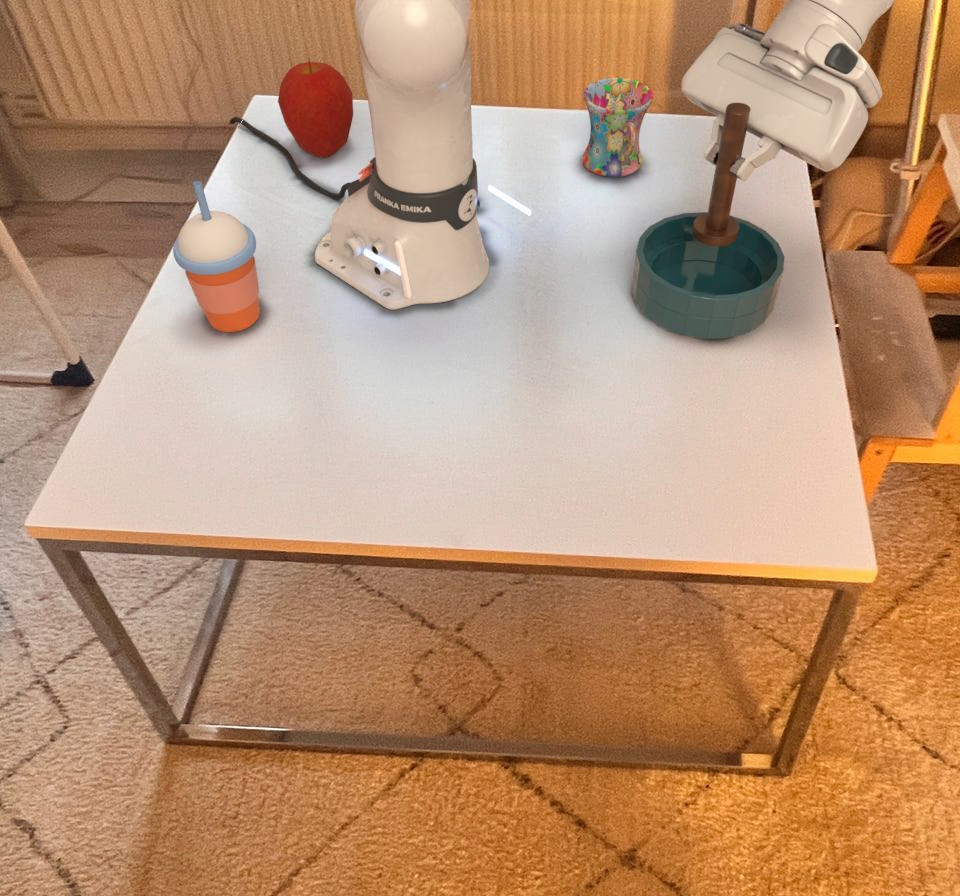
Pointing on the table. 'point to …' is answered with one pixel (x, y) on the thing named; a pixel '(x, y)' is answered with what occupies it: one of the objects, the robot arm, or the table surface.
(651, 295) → the bowl
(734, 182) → the wooden peg stand
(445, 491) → the table surface
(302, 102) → the apple
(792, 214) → the table surface
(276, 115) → the table surface
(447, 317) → the table surface
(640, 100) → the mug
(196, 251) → the cup with straw
